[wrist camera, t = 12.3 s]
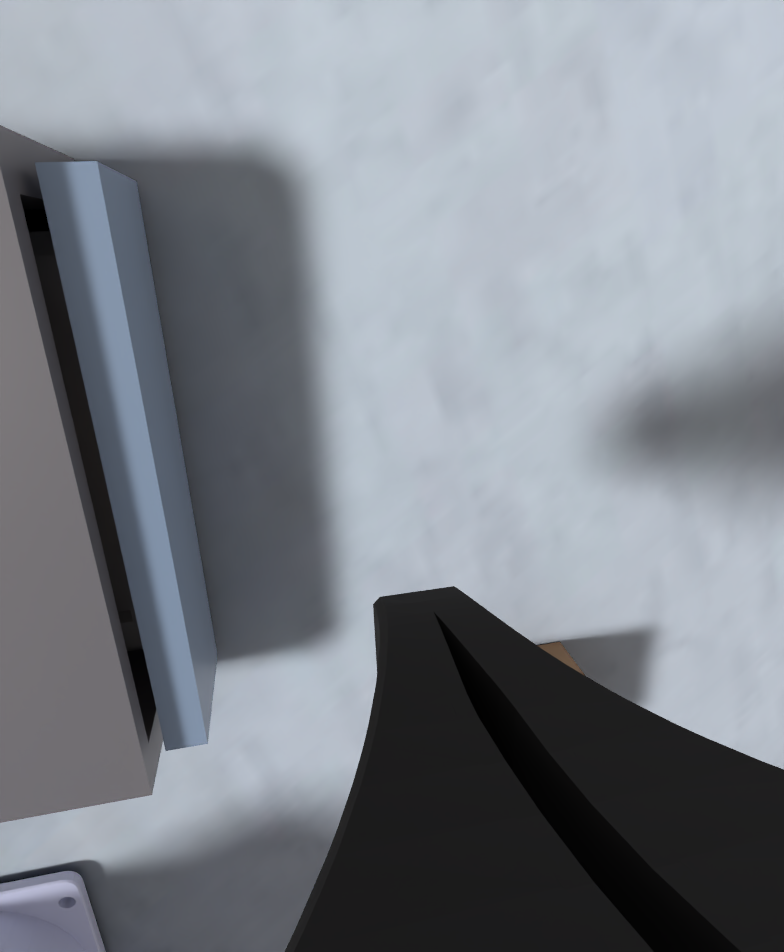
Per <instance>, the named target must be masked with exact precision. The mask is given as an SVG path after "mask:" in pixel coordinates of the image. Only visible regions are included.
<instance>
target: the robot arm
mask: <svg viewBox="0 0 784 952" xmlns="http://www.w3.org/2000/svg"><path fill="white" fill-rule="evenodd" d="M373 608H374V625H375V642H376V659H377V681H376V688H375V693H374V699H373V704H372V710H371V715H370V720H369V725H368V730H367V734H366V738H365V742H364V746H363V750H362V754H361V757H360V761H359V764H358V768H357V771H356V775H355V778H354V782H353V785H352V788H351V791H350V794H349V797H348V800H347V803H346V805H345V808H344V811H343V814H342V817H341V820H340V823H339V826H338V829H337V831H336V834H335V837H334V839H333V842H332V845H331V847H330V850H329V852H328V855H327V858H326V860H325V862H324V864H323V867H322V869H321V871H320V874H319V876H318V878H317V881H316V883H315V885H314V888H313V890H312V892H311V895H310V897H309V899H308V901H307V904H306V906H305V908H304V911H303V913H302V915H301V918H300V920H299V922H298V925H297V927H296V929H295V931H294V933H293V935H292V938H291V940H290V942H289V944H288V946H287V948H286V950H285V952H784V770H783V769H781V768H778V767H775V766H773V765H770V764H767V763H765V762H762V761H760V760H757V759H755V758H753V757H750V756H748V755H745V754H743V753H741V752H738V751H736V750H734V749H731V748H729V747H726V746H724V745H722V744H719V743H717V742H714V741H712V740H710V739H707V738H705V737H703V736H700V735H698V734H696V733H694V732H692V731H689V730H687V729H685V728H683V727H681V726H678V725H676V724H674V723H672V722H670V721H668V720H666V719H664V718H662V717H660V716H658V715H656V714H654V713H652V712H650V711H648V710H646V709H644V708H642V707H640V706H638V705H636V704H634V703H632V702H630V701H628V700H626V699H625V698H623V697H621V696H619V695H617V694H616V693H614V692H612V691H610V690H608V689H606V688H605V687H603V686H601V685H600V684H598V683H596V682H595V681H593V680H591V679H590V678H588V677H586V676H585V675H583V674H581V673H580V672H578V671H576V670H575V669H573V668H571V667H570V666H568V665H566V664H565V663H563V662H562V661H560V660H558V659H557V658H555V657H554V656H552V655H551V654H549V653H548V652H546V651H544V650H543V649H542V648H540V647H539V646H537V645H536V644H534V643H533V642H531V641H530V640H528V639H527V638H525V637H524V636H522V635H521V634H520V633H518V632H517V631H515V630H514V629H512V628H511V627H510V626H508V625H507V624H505V623H504V622H503V621H501V620H500V619H499V618H497V617H496V616H494V615H493V614H492V613H490V612H489V611H488V610H486V609H485V608H484V607H482V606H481V605H479V604H478V603H477V602H475V601H474V600H473V599H471V598H470V597H469V596H467V595H466V594H464V593H463V592H462V591H460V590H459V589H457V588H456V587H454V586H453V587H446V588H439V589H432V590H425V591H418V592H411V593H404V594H397V595H390V596H383V597H380V598H379V599H378V600H377V601H376V602H375V603H374V604H373ZM0 952H106V951H105V948H104V945H103V941H102V938H101V935H100V932H99V929H98V926H97V922H96V919H95V916H94V913H93V910H92V907H91V904H90V900H89V897H88V894H87V891H86V888H85V885H84V881H83V879H82V877H81V876H80V875H79V874H78V873H76V872H73V871H62V872H57V873H52V874H47V875H42V876H37V877H32V878H27V879H22V880H17V881H12V882H7V883H2V884H0Z"/></svg>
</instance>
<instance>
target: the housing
mask: <svg viewBox="0 0 784 952" xmlns="http://www.w3.org/2000/svg"><path fill="white" fill-rule="evenodd" d="M35 162H74V159H73V158H71V157H69V156H67V155H64V154H62V153H60V152H58V151H56V150H53V149H51V148H49V147H47V146H45V145H42V144H40V143H38V142H36V141H34V140H31V139H29V138H27V137H25V136H23V135H20V134H18V133H16V132H14V131H12V130H10V129H7V128H5V127H3V126H1V125H0V823H1V822H7V821H12V820H18V819H23V818H29V817H34V816H39V815H45V814H50V813H56V812H61V811H67V810H72V809H78V808H83V807H89V806H94V805H99V804H105V803H110V802H116V801H121V800H127V799H132V798H138V797H143V796H148V795H152V792H153V787H154V782H155V777H156V772H157V767H158V762H159V757H160V752H161V747H162V742H163V736H162V732H161V727H160V723H159V718H158V714H157V709H156V705H155V700H154V696H153V691H152V687H151V682H150V678H149V673H148V669H147V664H146V660H145V655H144V651H143V649H139V650H132V651H127V649H126V645H125V641H124V636H123V632H122V628H121V624H120V619H119V615H118V611H117V607H116V602H115V598H114V594H113V590H112V585H111V581H110V577H109V572H108V568H107V564H106V560H105V555H104V551H103V547H102V543H101V538H100V534H99V530H98V526H97V521H96V517H95V513H94V509H93V504H92V500H91V496H90V491H89V487H88V483H87V479H86V474H85V470H84V466H83V462H82V457H81V453H80V449H79V445H78V440H77V436H76V432H75V428H74V423H73V419H72V415H71V410H70V406H69V402H68V398H67V393H66V389H65V385H64V381H63V376H62V372H61V368H60V364H59V359H58V355H57V351H56V346H55V342H54V338H53V334H52V329H51V325H50V321H49V317H48V312H47V308H46V304H45V300H44V295H43V291H42V287H41V283H40V278H39V274H38V270H37V265H36V261H35V257H34V253H33V248H32V244H31V240H30V236H29V231H28V227H27V223H26V219H25V214H24V210H23V209H45V206H44V202H43V197H42V193H41V188H40V184H39V179H38V175H37V170H36V166H35Z"/></svg>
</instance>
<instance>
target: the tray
mask: <svg viewBox="0 0 784 952" xmlns="http://www.w3.org/2000/svg"><path fill="white" fill-rule="evenodd" d="M35 166H36V170H37V175H38V179H39V184H40V188H41V193H42V197H43V202H44V206H45V211H46V215H47V220H48V224H49V229H50V231H41V232H29V236H30V240H31V244H32V248H33V253H34V257H35V261H36V265H37V270H38V274H39V278H40V283H41V287H42V291H43V295H44V300H45V304H46V308H47V312H48V317H49V321H50V325H51V329H52V334H53V338H54V342H55V346H56V351H57V355H58V359H59V364H60V368H61V372H62V376H63V381H64V385H65V389H66V393H67V398H68V402H69V406H70V410H71V415H72V419H73V423H74V428H75V432H76V436H77V440H78V445H79V449H80V453H81V457H82V462H83V466H84V470H85V474H86V479H87V483H88V487H89V491H90V496H91V500H92V504H93V509H94V513H95V517H96V521H97V526H98V530H99V534H100V538H101V543H102V547H103V551H104V555H105V560H106V564H107V568H108V572H109V577H110V581H111V585H112V590H113V594H114V598H115V602H116V607H117V611H118V615H119V619H120V624H121V628H122V632H123V636H124V641H125V645H126V649H127V651H132V650H139V649H143V651H144V655H145V660H146V664H147V669H148V673H149V678H150V682H151V687H152V691H153V696H154V700H155V705H156V709H157V714H158V718H159V723H160V727H161V732H162V736H163V741H164V745H165V750H166V751H168V750H173V749H179V748H185V747H191V746H197V745H202V744H208V735H209V726H210V717H211V709H212V700H213V691H214V682H215V673H216V664H217V649H216V643H215V637H214V632H213V626H212V620H211V614H210V608H209V602H208V596H207V591H206V585H205V579H204V573H203V567H202V561H201V555H200V550H199V544H198V538H197V532H196V526H195V520H194V514H193V509H192V503H191V497H190V491H189V485H188V479H187V474H186V468H185V462H184V456H183V450H182V444H181V438H180V433H179V427H178V421H177V415H176V409H175V403H174V397H173V392H172V386H171V380H170V374H169V368H168V362H167V357H166V351H165V345H164V339H163V333H162V327H161V321H160V316H159V310H158V304H157V298H156V292H155V286H154V280H153V275H152V269H151V263H150V257H149V251H148V245H147V239H146V234H145V228H144V222H143V216H142V210H141V204H140V199H139V193H138V187H137V181H135V180H133V179H131V178H129V177H127V176H125V175H123V174H121V173H119V172H117V171H115V170H113V169H112V168H110V167H108V166H106V165H104V164H102V163H100V162H98V161H78V162H35Z"/></svg>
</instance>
